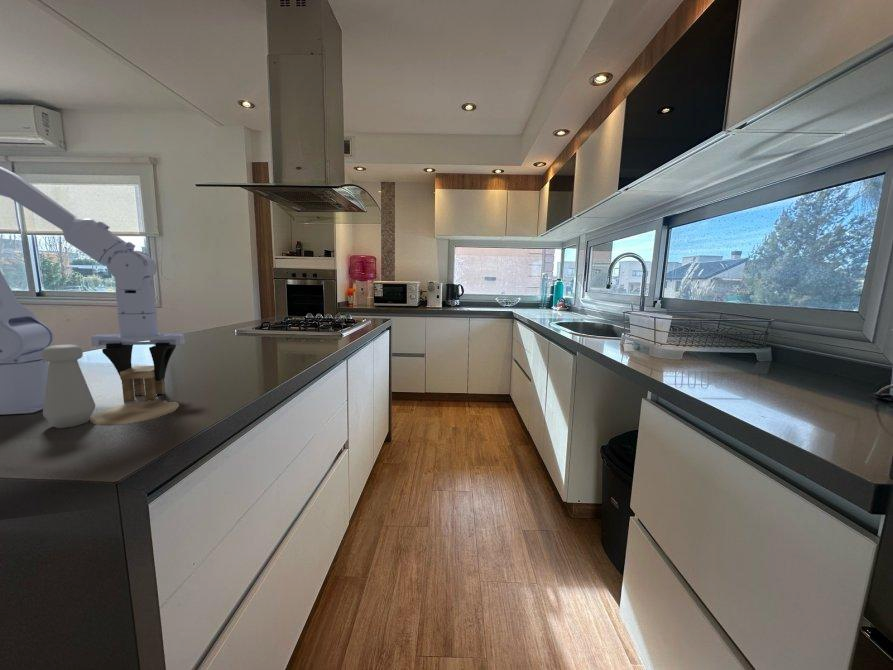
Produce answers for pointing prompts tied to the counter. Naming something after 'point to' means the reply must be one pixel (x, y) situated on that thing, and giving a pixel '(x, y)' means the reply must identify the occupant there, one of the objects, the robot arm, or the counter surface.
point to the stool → (140, 383)
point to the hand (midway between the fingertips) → (143, 380)
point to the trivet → (133, 412)
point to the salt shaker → (66, 388)
